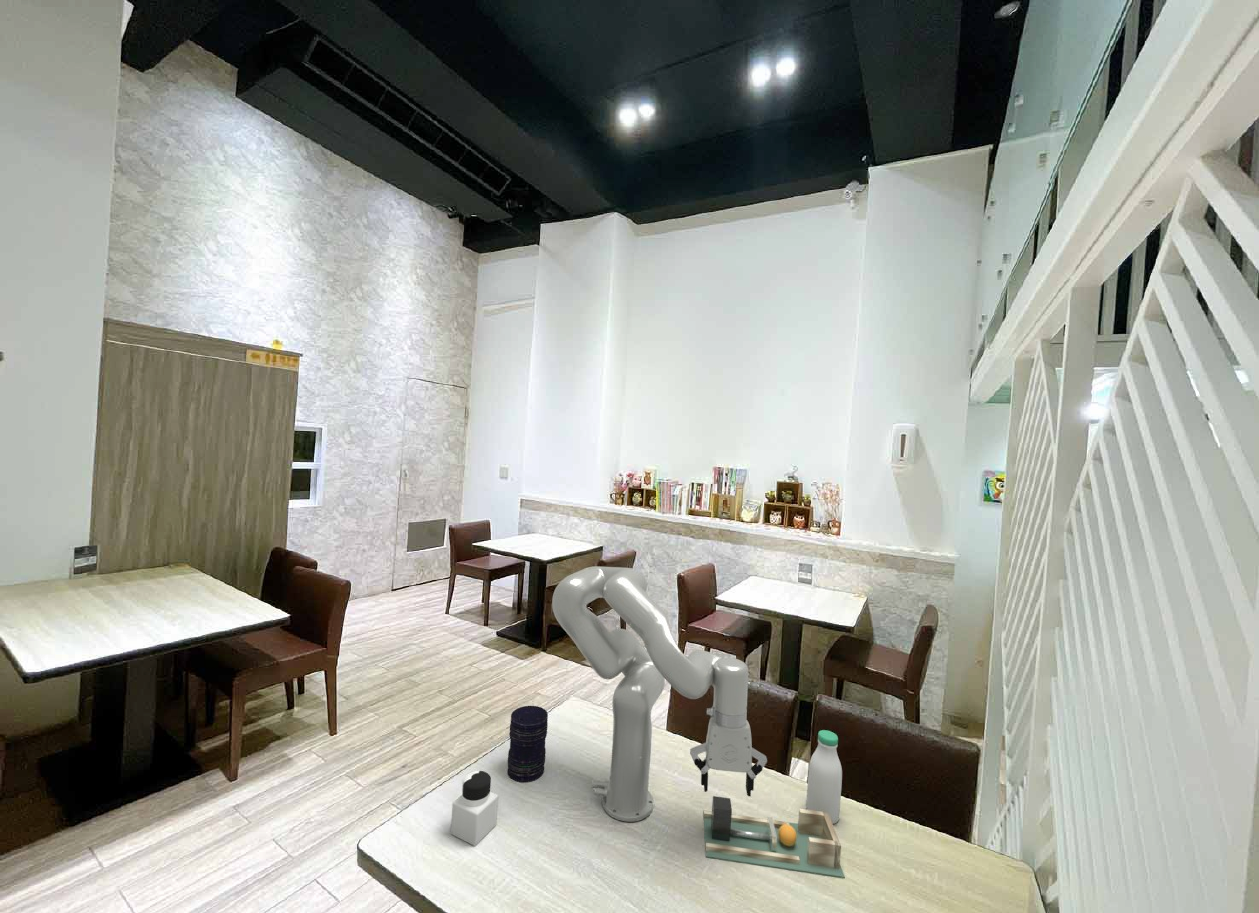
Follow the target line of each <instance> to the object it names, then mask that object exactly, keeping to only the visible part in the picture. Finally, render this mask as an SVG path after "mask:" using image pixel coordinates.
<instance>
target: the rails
mask: <svg viewBox="0 0 1259 913" xmlns="http://www.w3.org/2000/svg"><path fill="white" fill-rule="evenodd" d="M710 811H711V810H705V811H704V816H703V819H704V818H709V819H711V815H712V812H710ZM738 815H739V814H733V815H732V816H731V822H737V823H744V824H751V825H758V826H765V827H767V819H768V818H761V819H760V817H754V816H747V817H746V815H740V816H738ZM753 817H754V818H753ZM788 822H789V821H783V822H781V821H780V820H776V821H774V819H773V823H774V827H775V828H780V827H781V826H782V825H784V824H788V825H789V823H788ZM706 851H711V852H718V853H725V854H732V855H738V856H745V857H752V858H758V859H765V860H772V861H778V862H785V863H792V864H799V862H800V860H799V856H793V855H786V854H779V853H773V852H766V851H759V850H752V849H746V848H739V847H732V846H725V845H718V844H712V843H706V850H705V852H706Z"/></svg>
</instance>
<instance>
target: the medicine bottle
mask: <svg viewBox="0 0 1259 913" xmlns="http://www.w3.org/2000/svg"><path fill="white" fill-rule="evenodd" d="M491 783H492V777H491V775H490V774H489V772H487V771H484V770H475V771H472V772H469V773H467V774H466V775H465V776H464V778H463V779H462V788H461V795H460V796H458V798H456V799H455V800H454V801H452V803H451V804H452V808H451V821H450V822H451V824H450V834H451V835H452V836H454V837H457V838H458V839H460V840H462V841H465V843H468V844H470V845H472V846H474V847H475V846H477V845H478V844H479V843H480V842H481V840H483V839H484V838H485V837H486V836H487V835H488V834H490V832H492V830H493V829H494V828H496V826H497V823H498V822H497V820H498V807H499V806H498V805H499V794H497V793H495V792H493V791H491V787H492V784H491Z"/></svg>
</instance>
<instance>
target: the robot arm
mask: <svg viewBox="0 0 1259 913" xmlns="http://www.w3.org/2000/svg"><path fill="white" fill-rule="evenodd" d="M647 588H648V583H647V579H646V577H645V576H644V574H643V573H642V572H641V571H639V570H638V569H636V568H633V567H631V568H630V567H619V566H616V567H615V566H589V567H585V568H583V569H580V570H578V571H576V572H574V573H571V574H569V575H568V576H567V575H566V577H564V578H563V579H562V580H561V581H560V582H559V583H558V584H557V585H556V587H555V589H554V592H553V593H552V594H553V595H552V602H551V605H552V606H551V607H552V612H553V614H554V618H555V619H556V621H557V622H558V624H559V625H560V627H561V628H562V629H563V631H565V632H566V634H567V635H568V636H569V637H570V639H571V640H572V641H573V643H574V644H575V645H576V647H577V649H578V650H579V651H580V653H581V654H582V656H583V657H584V658H585V660H586V662H587V663H588V664H589V666H590V667H591V668H592V669H593V671H594V672H595V674H597V676H599V677H600V678H601V679H603V680H612V679H615V678H616V677H618V676H619V675H621V673H622V675H623V676H624V677H623V678H622V679H621V680H620V681H619V683H618V684H617V686H616V688H615V689H614V691H613V694H612V702H611V703H612V704H611V705H612V715H613V718H612V719H613V728H612V729H613V730H612V747H611V761H610V762H611V763H610V775H609V778H608V779H605V780H600V779H594V778H593V779H592V780H591V781H592V782H591V789H595V790H594V795H597V796H602V799H601V804H602V807H603V809H604V811H605V812H606V813H607V814H608V815H609V816H610V817H612V818H613V819H616V820H618V821H621V822H630V823H631V822H632V823H633V822H638V821H641V820H643V819H646V818H647V817H648V816H649V815H650V814H651V813H652V812H653V810H654V798H653V795H652V793H651V792H650V791H649V781H650V764H651V756H652V755H651V753H652V738H653V737H652V736H653V726H652V710H653V707H654V705H655V704H656V702H657V701H658V699H659V698H660V696H661V695H662V694H663V691H664V689H665V682H668V684H669V685H670V686H671V687H672V688H673V689H674V690H675V691H677V693H679V694H680V695H681V696H683V697H685V698H686V699H690V700H697V699H699V698H700V699H701V698H702V697H703V696H704V695H705V694H706V693H707V692H708V690H709V688H710V687H711V686H712V687H713V704H712V706H711V707H709V708H706V716H710V718H709V722H708V726H707V732H706V741H705V742H704V743H701V744H698V745H696V746H694V747H691V748H690V749H689V754H690V757H691V759H692V760H693V763H694V765H695V766H696V767H697V769H698V770H699V771H700V773H701V775H700V785H701V786H703V792H704V793H707V792H708V788H709V770H710V769H711V770H716V771H721V772H722V771H723V772H734V773H746V775H745V790H746V796H747V797H752V796H751V795H752V792H753V791H754V790H755V789H754V787H755V786H754V785H755V779H756V777H757V775H759V774H760V773H761V772H762V771H763V768H764V767H765V766H766V765H767V763H768V758H767V756H766V755H765V754H764V753H762V752H760V751H758V750H757V749H755V748H754V747H752V746H753V745H752V741H753V740H752V732H751V726H750V723H749V721H748V720H747V713H748V687H749V686H748V685H749V668H748V666H747V664H746V663H745V662H744V661H742V660H740V659H737V658H735V657H734V658H733V657H724V656H722V655H721V656H720V655H717V654H715V653H713V652H710V651H706V650H703V649H696V650H694V651H692V652H691V653H689V654H688V656H686V654H684V652H682V650H681V649H680V647H679V646H678V645H677V644H676V642H675V640H674V639H673V638H674V637H673V636H672V633H671V628H670V620H669V617H668V614H667V612H666V611H665V610H664V609H663V608H662V607H661V606H660V605H659V603H657V602H656V601H655V600H654V599H653V598H652V597H651V596H650V595H649V594H648V593H647ZM599 598H600V599H602V598H603V599H604V600H605V601H606V603H607V604H608V605H609V606H610V608H611V609H612V610H613V611H614V612H615V613H616V614H617V615H618V616H619V617H620V618H621V619H622V620H623V621H624V622H625V623H626V624H627V625H628V626H629V627H630V628H631V629H632V630H633V631H634V632H635V633H636V634H637V635H638V637H639V638H640V639H641V640H642V641H643V644H644V645H643V644H642V643H641V641H640V640H639V638H638V637H637V636H636V635H634V634H633V633H632V632H631V631H629V630H627V629H625V628H616V629H612V630H611V631H610V630H609V629H608V628H607V627H606V626H605V625H604V622H602V620H601V619H600V617H598V615H596V614H595V613H594V612H593V611H591V610H589V609H588V608H587V605H588V604H590V603H591V602H593V601H595V600H596V599H599ZM703 753H705V757H704V759H703V760H702V759H701V758H700V757H699V755H700V754H703ZM753 758H754V759H755V760H757V762H756V763H754V764H753V765H752V763H753Z"/></svg>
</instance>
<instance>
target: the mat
mask: <svg viewBox="0 0 1259 913" xmlns="http://www.w3.org/2000/svg"><path fill="white" fill-rule="evenodd" d="M704 811H706V810H703V812H702V813H703V815H702V816H703V831H704V832H703V833H704V844H705V845H704V846H705V858H708V859H714V860H721V861H727V862H734V863H739V864H740V863H741V864H748V865H753V866H760V867H765V868H767V867H768V868H773V869H779V870H780V869H781V870H787V871H794V872H798V873H799V872H801V873H807V874H813V875H814V874H815V875H820V876H827V877H834V878H840V879H845V877H846V876H845V874H844V872H843V868H842V866H841V865H840V868H839V869H838V868H831V867H824V866H817V865H811V864H808V862H807V852H808V839H809V837H811V838H818V839H823V837H821V836H814V835H807V834H800V833H799V832H798V822H797V823H796V822H789V821H787V822H788V823H789V825H790V826H792V827H793V828H794V829H795V831H796V834H797V840H796V843H795V844H794V845H792V846H786V845H784V844H783V843H782V842H781V841H780V839H779V835H778V831H779V828H775V831H776V835H777V843H776V851H771V847H770V843H769V841H766V840H759V839H752V838H745V837H738V836H731V835H730V841H725V840H718V839H712V835H711V819H709V818H704ZM709 811H710V812H712V810H709ZM732 815H734V814H733V813H732ZM737 815H738V816H741V815H739V814H737ZM745 816H746V815H745ZM746 817H748V816H746ZM752 817H753V818H755V817H754V816H752ZM759 818H760V817H759ZM760 819H762V818H760ZM766 819H767V820H768V818H766ZM773 820H774V819H773ZM774 821H777V820H776V819H775V820H774ZM781 822H784V821H781ZM731 829H735V830H742V831H749V832H756V833H763V834H767V827H765V826H758V825H751V824H744V823H737V822H731ZM706 843H712V844H718V845H725V846H732V847H739V848H746V849H752V850H759V851H766V852H773V853H779V854H786V855H793V856H799V860H800V862H799V864H792V863H785V862H778V861H772V860H765V859H758V858H752V857H745V856H738V855H732V854H725V853H718V852H711V851H706Z"/></svg>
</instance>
